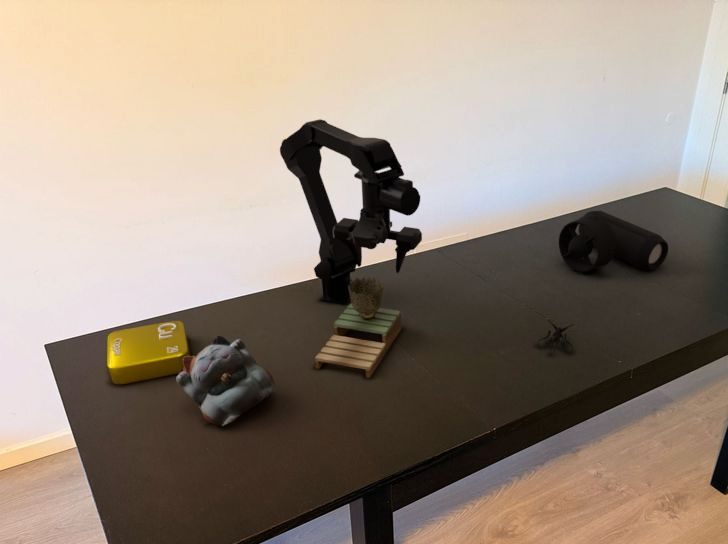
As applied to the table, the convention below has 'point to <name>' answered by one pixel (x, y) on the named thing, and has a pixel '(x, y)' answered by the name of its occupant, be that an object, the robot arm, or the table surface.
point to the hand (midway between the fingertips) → (378, 269)
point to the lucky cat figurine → (224, 380)
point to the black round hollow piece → (587, 243)
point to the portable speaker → (632, 242)
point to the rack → (356, 349)
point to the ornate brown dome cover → (366, 296)
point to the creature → (557, 337)
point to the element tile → (146, 352)
